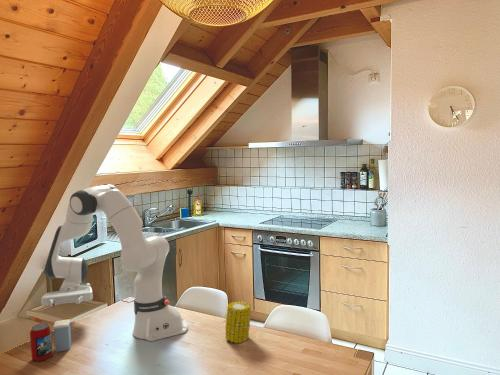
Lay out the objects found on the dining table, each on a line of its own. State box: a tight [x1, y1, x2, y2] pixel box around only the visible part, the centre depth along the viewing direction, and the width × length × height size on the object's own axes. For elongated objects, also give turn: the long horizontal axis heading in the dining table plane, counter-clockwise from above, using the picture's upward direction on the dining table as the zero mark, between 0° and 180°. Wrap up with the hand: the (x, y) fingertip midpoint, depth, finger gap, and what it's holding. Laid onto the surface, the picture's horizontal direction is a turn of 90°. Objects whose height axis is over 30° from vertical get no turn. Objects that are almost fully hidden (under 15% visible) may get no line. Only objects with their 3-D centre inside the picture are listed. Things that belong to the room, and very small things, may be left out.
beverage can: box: [29, 322, 53, 362], centre depth 149 cm, size 7×7×12 cm
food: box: [224, 300, 252, 344], centre depth 159 cm, size 15×12×10 cm
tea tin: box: [52, 318, 72, 353], centre depth 156 cm, size 5×5×10 cm
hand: (65, 303), depth 167 cm, fingers open, 8 cm apart
